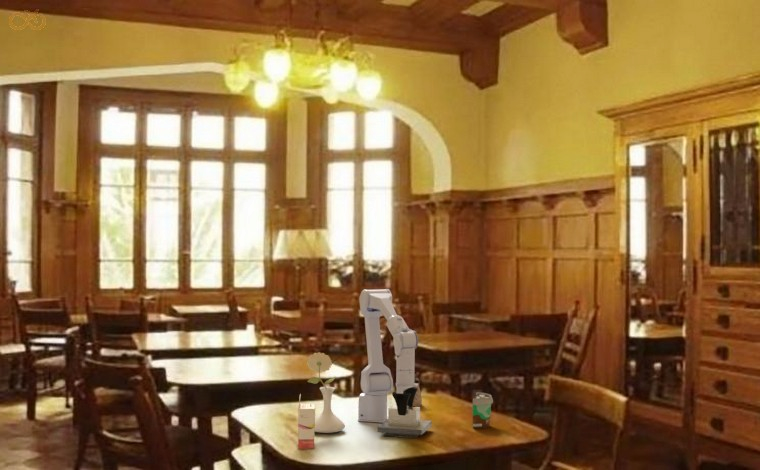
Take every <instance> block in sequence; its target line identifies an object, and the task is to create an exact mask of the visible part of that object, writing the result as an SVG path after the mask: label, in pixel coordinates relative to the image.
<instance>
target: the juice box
mask: <svg viewBox="0 0 760 470" xmlns="http://www.w3.org/2000/svg"><path fill="white" fill-rule="evenodd" d="M301 396H302V395H301V393H300V394H299V397H298V398H299V401H298V415H297V418H298V419H297V427H298V428H297V442H298V444H297V449H298V450H299V449H300V450H315V435H316V434H315V433H316V432H315V418H316V404H315V403H301Z"/></svg>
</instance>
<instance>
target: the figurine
mask: <svg viewBox="0 0 760 470" xmlns="http://www.w3.org/2000/svg"><path fill="white" fill-rule="evenodd" d="M419 375H420V372H418V371H417V372H416V373H414V383H415V384H418V386H417V388H418V390H417V392H416V394H415V397H414V401H413V406H415V407H421V406H422V402H423V400H422V392H421V389H420V384H421V380H420V378H419ZM416 382H418V383H416Z"/></svg>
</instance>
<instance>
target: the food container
mask: <svg viewBox="0 0 760 470" xmlns="http://www.w3.org/2000/svg"><path fill="white" fill-rule="evenodd" d="M492 404H494V399H493V397H492V395H491V394H490V393H486V392H477V391H476V392H475V396H474V398H472V429H473V428H484V429H487V427H488V428H490V425H491V424H490V422H491V411H492V410H491V409H492V408H491V407H492Z"/></svg>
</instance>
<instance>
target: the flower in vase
mask: <svg viewBox="0 0 760 470" xmlns="http://www.w3.org/2000/svg"><path fill="white" fill-rule="evenodd" d="M305 363H306V364H307V367H308V369H309V370H310V371H312V372H316V373H318V377H316V376H312V377H310V378H309V379H308V380H307V383H311V384H314V385H315V384H318V383H319V382H321V384H322V385H323V386H320V387H319V390H320V392H321V395H322V396H323V397H322V398H323V409H322V412H321V413H320V414H319V415H318V416H316V417H315V433H321V434H322V433H323V434H333V433H338V432H340V431H343V430H344V429H345V428H346V425H345V423H344V422H343V420H341V419H340V417H338V416H336V414H334V412H333V410H332V395H333V393H334V391H335V390H336V387H334V386H326V385H328V384H330V383H332V382H334V380H335V379H336V376H334V377H332V378H330V379H326V381H325V382H323V380H322V379H321V375H320V374H321V373H325V372H326V371H329V370H330V368H331V366H332V365H333V362H332V359H331V357H330V356H329V354H328V355H327V354H325V353H324V352H320V351H318V352H314V353H313V354H310V355H309V356H308V358H307V361H306V362H305Z"/></svg>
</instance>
